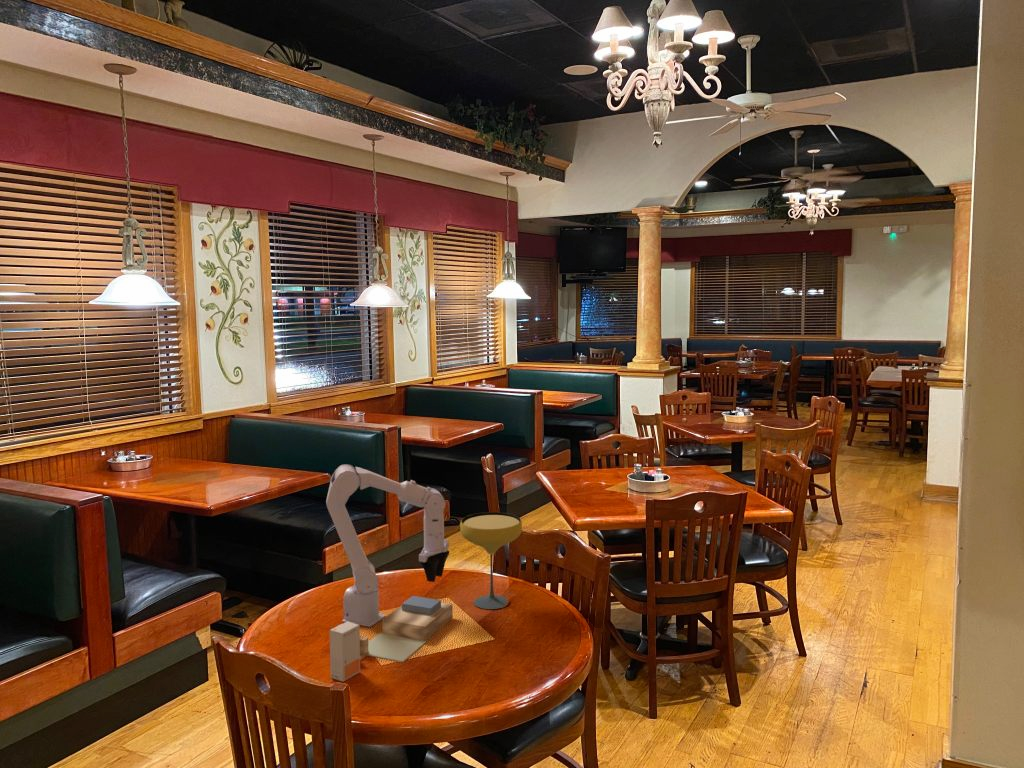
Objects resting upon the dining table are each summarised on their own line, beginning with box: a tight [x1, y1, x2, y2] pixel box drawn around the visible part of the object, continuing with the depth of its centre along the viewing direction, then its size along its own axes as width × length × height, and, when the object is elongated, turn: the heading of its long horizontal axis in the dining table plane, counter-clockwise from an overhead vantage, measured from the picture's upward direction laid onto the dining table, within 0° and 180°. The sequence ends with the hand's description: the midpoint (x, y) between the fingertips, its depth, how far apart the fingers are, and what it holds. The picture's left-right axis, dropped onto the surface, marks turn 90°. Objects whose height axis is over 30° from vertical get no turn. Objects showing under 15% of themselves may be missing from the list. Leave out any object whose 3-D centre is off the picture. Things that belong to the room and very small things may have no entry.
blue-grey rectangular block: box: [401, 595, 442, 615], centre depth 211 cm, size 9×6×2 cm, turn 68°
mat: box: [367, 632, 427, 663], centre depth 197 cm, size 14×12×1 cm
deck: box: [381, 602, 454, 642], centre depth 210 cm, size 13×16×4 cm
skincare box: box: [329, 621, 361, 683], centre depth 182 cm, size 6×4×12 cm
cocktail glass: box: [459, 511, 523, 610], centre depth 224 cm, size 18×18×25 cm
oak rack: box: [360, 636, 369, 661], centre depth 191 cm, size 5×6×4 cm
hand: (434, 578), depth 218 cm, fingers open, 4 cm apart
